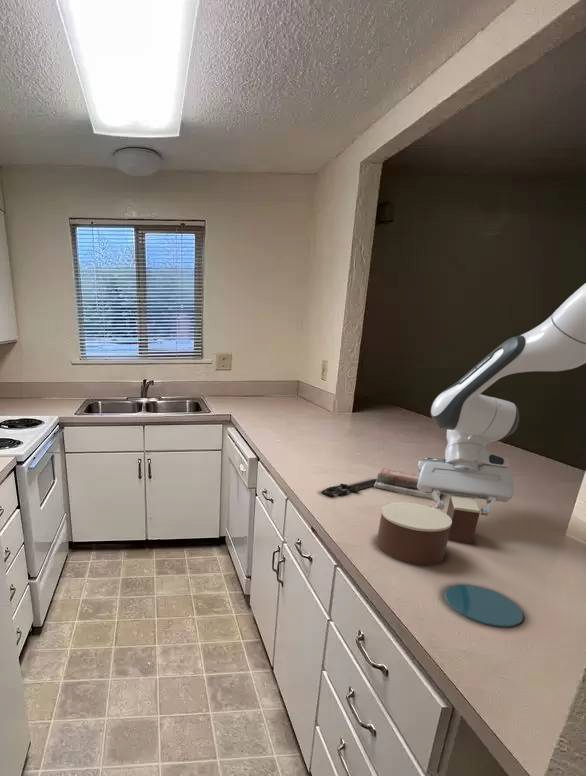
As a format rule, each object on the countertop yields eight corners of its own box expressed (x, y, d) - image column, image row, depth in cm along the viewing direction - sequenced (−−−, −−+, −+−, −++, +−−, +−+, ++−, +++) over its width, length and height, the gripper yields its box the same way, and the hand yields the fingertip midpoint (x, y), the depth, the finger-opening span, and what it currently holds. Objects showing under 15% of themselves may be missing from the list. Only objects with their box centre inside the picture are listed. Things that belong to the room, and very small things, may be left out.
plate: (512, 597, 83) (513, 593, 83) (530, 636, 73) (531, 632, 73) (441, 582, 88) (442, 579, 88) (448, 618, 78) (449, 614, 77)
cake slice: (466, 530, 109) (474, 497, 106) (471, 545, 102) (480, 510, 99) (443, 527, 111) (450, 494, 108) (447, 541, 104) (455, 507, 101)
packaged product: (375, 473, 133) (382, 464, 141) (373, 487, 135) (379, 478, 143) (442, 486, 124) (445, 476, 131) (438, 501, 126) (442, 491, 133)
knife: (379, 480, 142) (379, 476, 142) (394, 487, 137) (395, 483, 136) (316, 492, 134) (317, 487, 133) (330, 499, 128) (331, 495, 127)
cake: (440, 542, 104) (448, 507, 100) (447, 571, 92) (456, 534, 89) (376, 531, 109) (382, 498, 106) (375, 558, 97) (381, 522, 94)
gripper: (420, 451, 111) (416, 499, 107) (517, 460, 103) (516, 513, 99) (416, 462, 117) (412, 509, 112) (508, 472, 109) (507, 523, 104)
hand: (462, 511), depth 105 cm, fingers open, 8 cm apart
